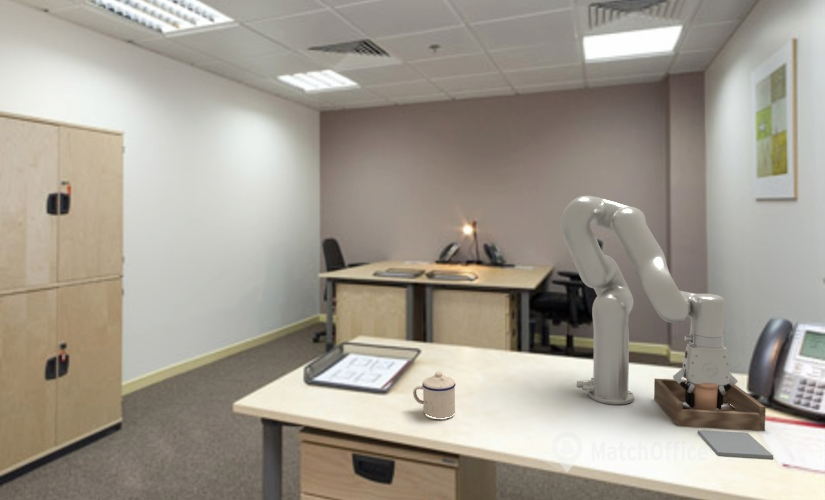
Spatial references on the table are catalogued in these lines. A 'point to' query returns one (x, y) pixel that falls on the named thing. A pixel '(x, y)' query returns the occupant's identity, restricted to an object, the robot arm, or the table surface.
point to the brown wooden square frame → (745, 418)
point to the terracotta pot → (705, 397)
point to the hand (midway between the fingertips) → (703, 405)
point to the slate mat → (734, 444)
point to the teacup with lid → (437, 396)
